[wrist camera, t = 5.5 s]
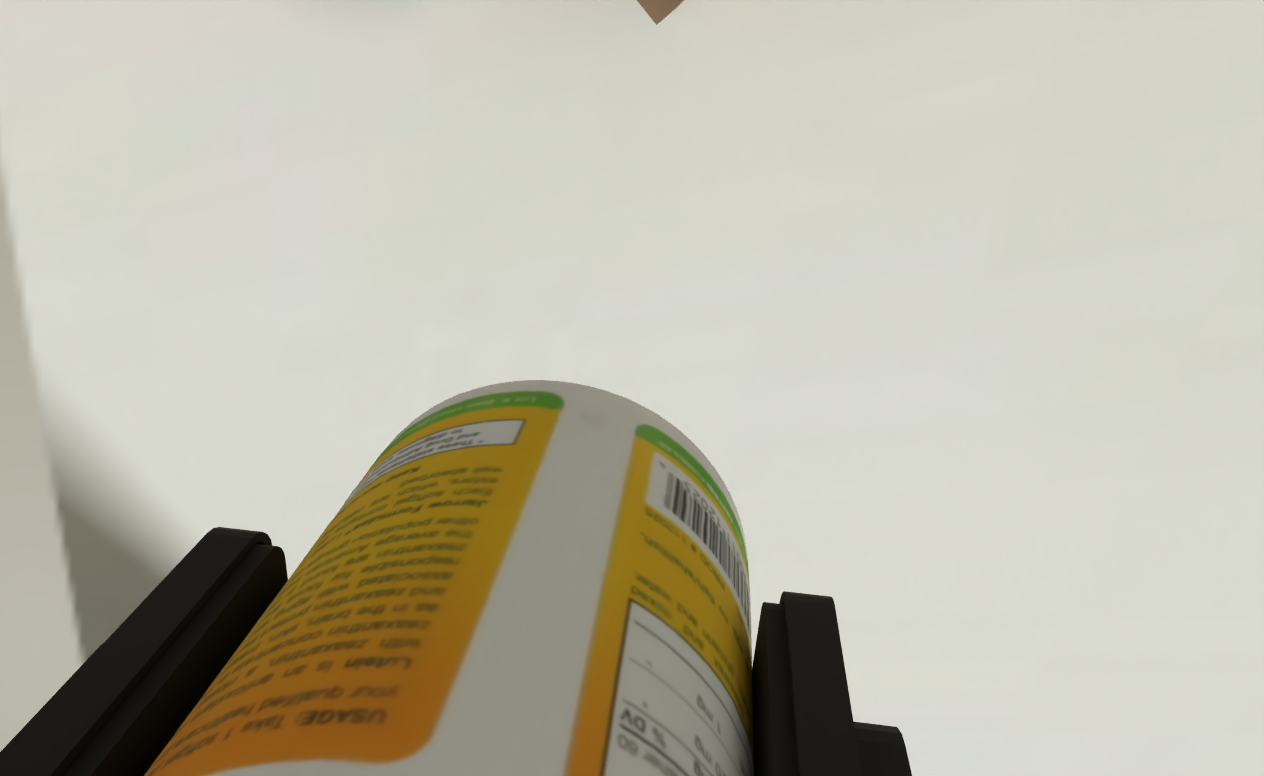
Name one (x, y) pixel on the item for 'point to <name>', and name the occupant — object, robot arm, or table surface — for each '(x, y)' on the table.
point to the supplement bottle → (503, 610)
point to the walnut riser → (659, 8)
